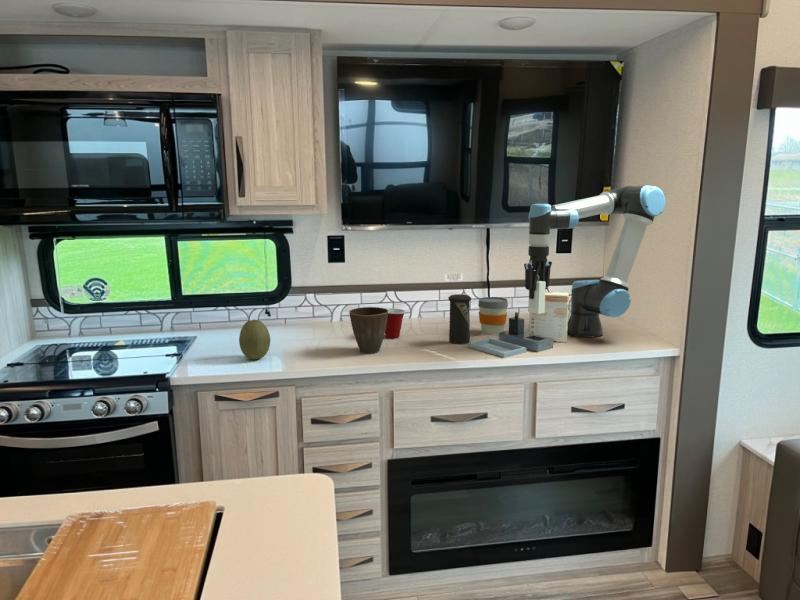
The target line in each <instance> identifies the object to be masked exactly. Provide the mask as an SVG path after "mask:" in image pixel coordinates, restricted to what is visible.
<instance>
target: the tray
mask: <svg viewBox="0 0 800 600" xmlns="http://www.w3.org/2000/svg"><path fill="white" fill-rule="evenodd" d="M467 345H468V348H470V349H472V350H477V351H480V352H483V353H485V354H486V353H487V354H489V355H490V354H491V355H493V356H496V357H500V358H503V359H506V358H509V357H513V356H518V355H521V354H522V355H523V354H525V353H527V350H528V349H527V348H525V347H522V346H518V345H514V344H511V343H507V342H503V341H499V339H495V338H492V337H488V338H484V339H479V340H475V341H471V342H470V343H468V344H467Z"/></svg>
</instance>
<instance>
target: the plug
mask: <svg viewBox="0 0 800 600" xmlns="http://www.w3.org/2000/svg"><path fill="white" fill-rule="evenodd" d="M539 278H540V276H537V283H536V289H535V291H537V301H536V308H533V307H530V299H529V298H528V309H527V311H528V313H530V312H532V313H537V314H540V313H544V312H545V292H546V289H545V287H546V282H544V281H539Z"/></svg>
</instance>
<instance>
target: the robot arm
mask: <svg viewBox="0 0 800 600" xmlns="http://www.w3.org/2000/svg"><path fill="white" fill-rule="evenodd" d="M665 208H666V197H665V195H664V191H663V190H662V189H661V188H660V187H658V186H654V185H626V186H622V187H618V188H615V189H611V190H607V191H606V190H605V191H603V192H601V193H600V194H599V195H595V196H591V197H586V198H582V199H576V200H572V201H568V202H564V203H558V204H553V205H551V204H549V203H532V204H531V205H530V207H529V213H528V215H527V216H528V222H529V225H528V226H529V227H528V229H529V230H528V245H529V246H528V253H527V254H528V256H529V260H528V261H529V262H527V263H524V264H523V266H524V271H525V272H524V276H525V282H524V283H525V285H524V287H525V289H526V290H527V291H528V300H529V299H530V307H533V308H536V301H537V291H535V289H536V283H537V276H540V278H539V281H544V282H546V287H545V290H548V288H549V286H550V278H551V268H552V265H553V262H552V261H550V260H548V258H547V257H548V256H549V254H550V247H549V245H550V240H551V238H550V235H551V230H565V229H566V230H568V229H574V228H576V227H577V226H578V223H579V221H580V220H579V219H584V218H588V217H593V216H597V215H602V214H603V215H605V216H607V215H608V216H609V215H612V214H613V215H614V214H617V215H622V216H623V218H624V223H623V226H622V229H621V231H620V233H619V236H618V239H617V242H616V246H615V248H614V250H613V253H612V255H611V259H610V261H609V265H608V268H607V270H606V273H605V276H603V277H601V278H599V279H584V280H574V281H573V282H572V285H571V293H570V294H571V300H570V315H569V317H568V329H567V335H570V336H572V337H574V336H575V337H577V338H578V337H581V338H596V337H597V338H598V337H600V336H603V334H604V330H603V329H604V327H603V325H602V322H601V317H600V315H602V316H604V317H606V318H607V317H608V318H609V317H610V318H619V317H620V316H622V315H624V314H625V313H626V312H627V311H628V310H629V308H630V305H631V300H632V298H631V295H630V293H629V289H630V286H629V285H628V280H629V278H630V275H631V272H632V269H633V266H634V263H635V261H636V257H637V255H638V252H639V249H640V247H641V244H642V241H643V238H644V235H645V233H646V229H647V227H648V226H650V225H652V224H653V222H654V221H655V220H654V219H655V217H658V216H660V215H661V214H662V213H663V212H664V210H665Z"/></svg>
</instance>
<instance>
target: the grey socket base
mask: <svg viewBox="0 0 800 600" xmlns="http://www.w3.org/2000/svg"><path fill="white" fill-rule="evenodd" d="M498 340H499V341H503V342H507V343H511V344H514V345H518V346H522V347H525V348H527V349H526V350H528V351H532V352H536V353H539V352H544V351H547V350H551V349H554V339H553V338H548V337H544V336H540V335H536V334H532V333H529V331H528V332H527V331H525V318H523V317H522V318H521V317H519V312H517V311H516V312H514V316H513V317H508V330H505V331H504V330H503V332H499V334H498Z"/></svg>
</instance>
